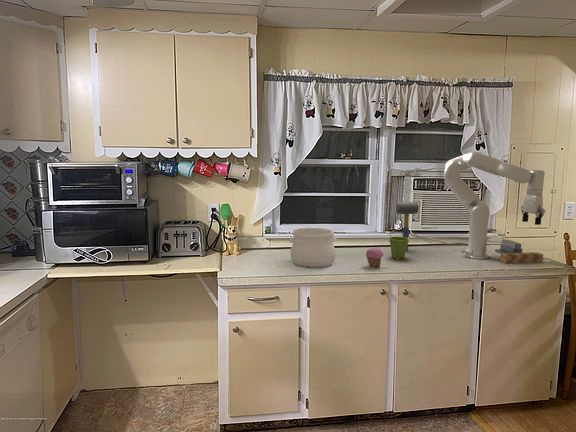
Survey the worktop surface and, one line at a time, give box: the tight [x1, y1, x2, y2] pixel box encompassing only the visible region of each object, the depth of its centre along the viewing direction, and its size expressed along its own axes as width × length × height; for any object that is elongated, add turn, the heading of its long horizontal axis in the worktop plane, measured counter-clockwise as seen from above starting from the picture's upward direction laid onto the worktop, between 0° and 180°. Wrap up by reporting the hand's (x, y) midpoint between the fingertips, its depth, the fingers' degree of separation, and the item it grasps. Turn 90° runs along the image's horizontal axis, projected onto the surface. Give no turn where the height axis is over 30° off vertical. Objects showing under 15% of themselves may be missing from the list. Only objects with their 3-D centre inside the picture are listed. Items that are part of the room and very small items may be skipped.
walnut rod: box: [499, 251, 544, 265], centre depth 232 cm, size 22×4×5 cm, turn 97°
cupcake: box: [365, 247, 384, 268], centre depth 222 cm, size 9×9×10 cm
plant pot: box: [388, 236, 411, 260], centre depth 241 cm, size 12×12×11 cm
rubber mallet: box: [395, 201, 419, 251], centre depth 258 cm, size 12×8×30 cm, turn 94°
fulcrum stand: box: [494, 239, 523, 255], centre depth 251 cm, size 11×14×8 cm
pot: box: [289, 227, 337, 268], centre depth 228 cm, size 26×24×18 cm
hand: (531, 223), depth 234 cm, fingers open, 9 cm apart
